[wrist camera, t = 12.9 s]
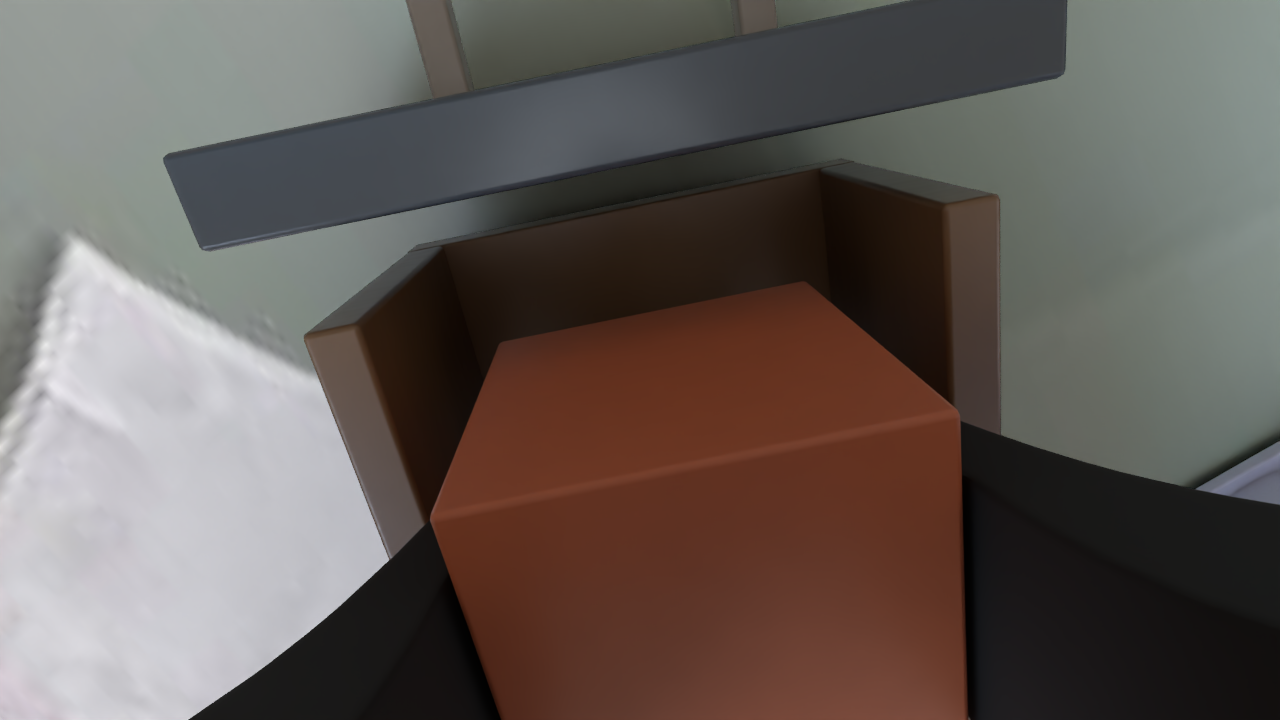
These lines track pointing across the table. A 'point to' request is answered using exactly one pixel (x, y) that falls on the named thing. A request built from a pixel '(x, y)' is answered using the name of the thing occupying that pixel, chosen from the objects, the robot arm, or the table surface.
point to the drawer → (634, 212)
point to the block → (711, 521)
